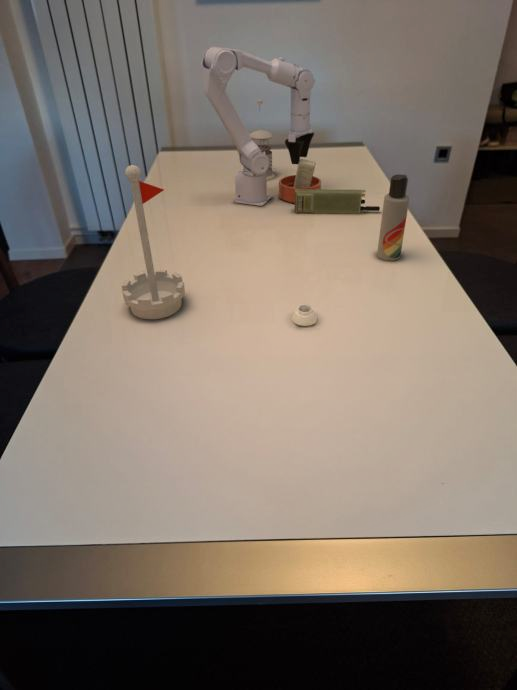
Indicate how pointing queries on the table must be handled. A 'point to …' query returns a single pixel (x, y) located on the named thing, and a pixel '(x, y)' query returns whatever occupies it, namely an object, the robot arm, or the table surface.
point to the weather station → (263, 136)
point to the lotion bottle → (393, 219)
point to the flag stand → (150, 265)
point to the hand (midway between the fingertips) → (299, 160)
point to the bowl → (289, 192)
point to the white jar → (304, 315)
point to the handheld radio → (330, 201)
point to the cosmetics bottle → (304, 174)
